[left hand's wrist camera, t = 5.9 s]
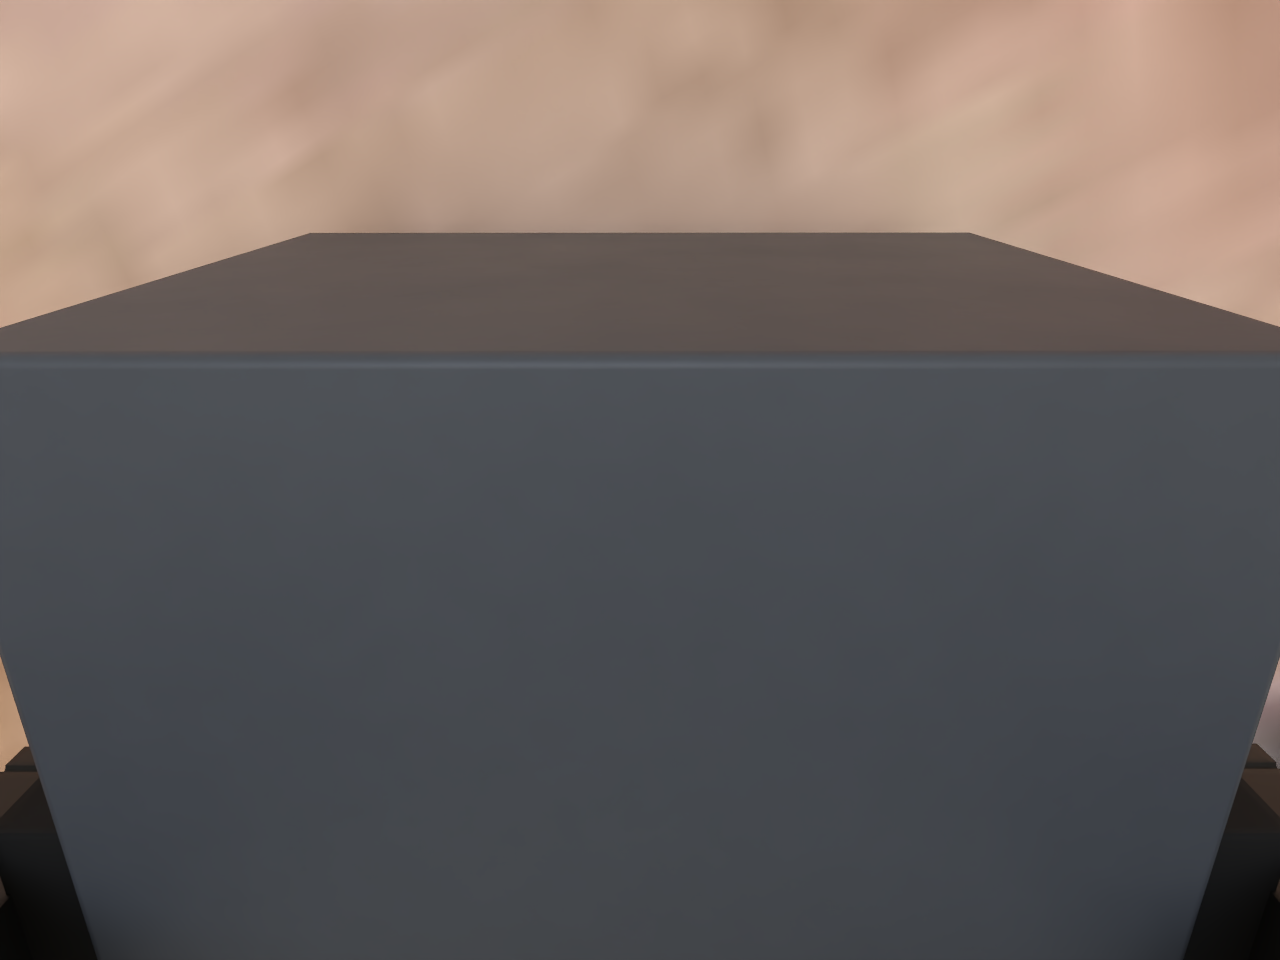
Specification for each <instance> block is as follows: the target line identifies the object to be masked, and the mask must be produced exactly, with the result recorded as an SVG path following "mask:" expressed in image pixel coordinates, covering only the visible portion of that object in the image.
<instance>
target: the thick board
mask: <svg viewBox="0 0 1280 960" xmlns="http://www.w3.org/2000/svg"><path fill="white" fill-rule="evenodd" d="M0 656H1V659H2V662H3V665H4V669H5V672H6V675H7V678H8V681H9V684H10V687H11V690H12V694H13V697H14V700H15V703H16V706H17V709H18V712H19V716H20V719H21V722H22V725H23V728H24V731H25V734H26V737H27V741H28V744H29V747H30V750H31V753H32V756H33V759H34V762H35V766H36V769H37V772H38V775H39V778H40V781H41V784H42V787H43V791H44V794H45V797H46V800H47V803H48V806H49V809H50V812H51V816H52V819H53V822H54V825H55V828H56V831H57V834H58V837H59V841H60V844H61V847H62V850H63V853H64V856H65V859H66V862H67V866H68V869H69V872H70V875H71V878H72V881H73V884H74V887H75V891H76V894H77V897H78V900H79V903H80V906H81V909H82V912H83V916H84V919H85V922H86V925H87V928H88V931H89V934H90V938H91V941H92V944H93V947H94V950H95V953H96V956H97V959H98V960H1183V959H1184V955H1185V952H1186V949H1187V946H1188V943H1189V940H1190V937H1191V933H1192V930H1193V927H1194V924H1195V921H1196V918H1197V915H1198V911H1199V908H1200V905H1201V902H1202V899H1203V896H1204V893H1205V890H1206V886H1207V883H1208V880H1209V877H1210V874H1211V871H1212V868H1213V864H1214V861H1215V858H1216V855H1217V852H1218V849H1219V846H1220V843H1221V839H1222V836H1223V833H1224V830H1225V827H1226V824H1227V821H1228V817H1229V814H1230V811H1231V808H1232V805H1233V802H1234V799H1235V795H1236V792H1237V789H1238V786H1239V783H1240V780H1241V777H1242V774H1243V770H1244V767H1245V764H1246V761H1247V758H1248V755H1249V752H1250V748H1251V745H1252V742H1253V739H1254V736H1255V733H1256V730H1257V726H1258V723H1259V720H1260V717H1261V714H1262V711H1263V708H1264V705H1265V701H1266V698H1267V695H1268V692H1269V689H1270V686H1271V683H1272V679H1273V676H1274V673H1275V670H1276V667H1277V664H1278V661H1279V658H1280V327H1278V326H1275V325H1271V324H1268V323H1265V322H1261V321H1258V320H1255V319H1252V318H1248V317H1245V316H1242V315H1238V314H1235V313H1232V312H1229V311H1225V310H1222V309H1219V308H1215V307H1212V306H1209V305H1205V304H1202V303H1199V302H1196V301H1192V300H1189V299H1186V298H1182V297H1179V296H1176V295H1173V294H1169V293H1166V292H1163V291H1159V290H1156V289H1153V288H1149V287H1146V286H1143V285H1140V284H1136V283H1133V282H1130V281H1126V280H1123V279H1120V278H1117V277H1113V276H1110V275H1107V274H1103V273H1100V272H1097V271H1093V270H1090V269H1087V268H1084V267H1080V266H1077V265H1074V264H1070V263H1067V262H1064V261H1061V260H1057V259H1054V258H1051V257H1047V256H1044V255H1041V254H1037V253H1034V252H1031V251H1028V250H1024V249H1021V248H1018V247H1014V246H1011V245H1008V244H1005V243H1001V242H998V241H995V240H991V239H988V238H985V237H981V236H978V235H975V234H972V233H309V234H306V235H303V236H299V237H296V238H293V239H290V240H286V241H283V242H280V243H276V244H273V245H270V246H267V247H263V248H260V249H257V250H254V251H250V252H247V253H244V254H241V255H237V256H234V257H231V258H227V259H224V260H221V261H218V262H214V263H211V264H208V265H205V266H201V267H198V268H195V269H192V270H188V271H185V272H182V273H178V274H175V275H172V276H169V277H165V278H162V279H159V280H156V281H152V282H149V283H146V284H143V285H139V286H136V287H133V288H129V289H126V290H123V291H120V292H116V293H113V294H110V295H107V296H103V297H100V298H97V299H93V300H90V301H87V302H84V303H80V304H77V305H74V306H71V307H67V308H64V309H61V310H58V311H54V312H51V313H48V314H44V315H41V316H38V317H35V318H31V319H28V320H25V321H22V322H18V323H15V324H12V325H9V326H5V327H2V328H0Z"/></svg>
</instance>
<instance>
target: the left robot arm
mask: <svg viewBox="0 0 1280 960" xmlns="http://www.w3.org/2000/svg"><path fill="white" fill-rule="evenodd" d="M5 766H6V768H5V771H4V772H0V960H98V959H97V956H96V953H95V950H94V947H93V944H92V941H91V938H90V934H89V931H88V928H87V925H86V922H85V919H84V916H83V912H82V909H81V906H80V903H79V900H78V897H77V894H76V891H75V887H74V884H73V881H72V878H71V875H70V872H69V869H68V866H67V862H66V859H65V856H64V853H63V850H62V847H61V844H60V841H59V837H58V834H57V831H56V828H55V825H54V822H53V819H52V816H51V812H50V809H49V806H48V803H47V800H46V797H45V794H44V791H43V787H42V784H41V781H40V778H39V775H38V772H37V769H36V766H35V762H34V759H33V756H32V753H31V750H30V747H24V748H23V749H22V750H21V751H20V752H19V753H18V754H17V755H16V756H15V757H14V758H13V759H12V760H11V761H10V762H9V763H8V764H6V765H5ZM1183 960H1280V769H1278V768H1277V766H1276V762H1275V761H1274V760H1273V759H1272V758H1271V757H1270V756H1269V755H1268V754H1267V753H1266V752H1265V751H1264V750H1263V749H1262V748H1261V747H1260V746H1259V745H1258V744H1252V745H1251V748H1250V752H1249V755H1248V758H1247V761H1246V764H1245V767H1244V770H1243V774H1242V777H1241V780H1240V783H1239V786H1238V789H1237V792H1236V795H1235V799H1234V802H1233V805H1232V808H1231V811H1230V814H1229V817H1228V821H1227V824H1226V827H1225V830H1224V833H1223V836H1222V839H1221V843H1220V846H1219V849H1218V852H1217V855H1216V858H1215V861H1214V864H1213V868H1212V871H1211V874H1210V877H1209V880H1208V883H1207V886H1206V890H1205V893H1204V896H1203V899H1202V902H1201V905H1200V908H1199V911H1198V915H1197V918H1196V921H1195V924H1194V927H1193V930H1192V933H1191V937H1190V940H1189V943H1188V946H1187V949H1186V952H1185V955H1184V959H1183Z"/></svg>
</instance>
